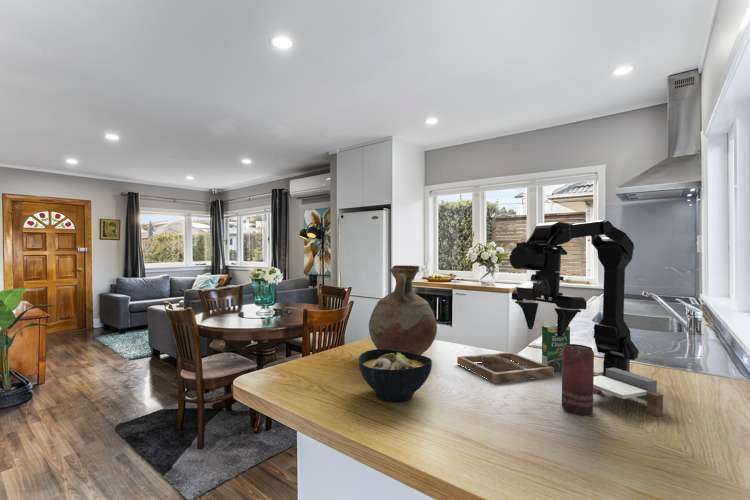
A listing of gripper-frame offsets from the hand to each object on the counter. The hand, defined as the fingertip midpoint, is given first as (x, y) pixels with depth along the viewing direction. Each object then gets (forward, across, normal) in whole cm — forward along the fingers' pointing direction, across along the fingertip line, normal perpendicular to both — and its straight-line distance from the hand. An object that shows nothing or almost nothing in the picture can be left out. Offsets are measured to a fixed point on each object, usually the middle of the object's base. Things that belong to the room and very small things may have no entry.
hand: (544, 332), depth 95 cm
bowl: (+16, -9, -37) cm, 41 cm away
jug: (+16, -35, -21) cm, 44 cm away
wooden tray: (+14, -16, +2) cm, 21 cm away
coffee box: (+14, -11, +18) cm, 25 cm away
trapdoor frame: (+14, +13, +12) cm, 22 cm away
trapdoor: (+12, +13, +10) cm, 20 cm away
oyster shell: (+15, -16, +2) cm, 22 cm away
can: (+15, +12, -3) cm, 19 cm away
